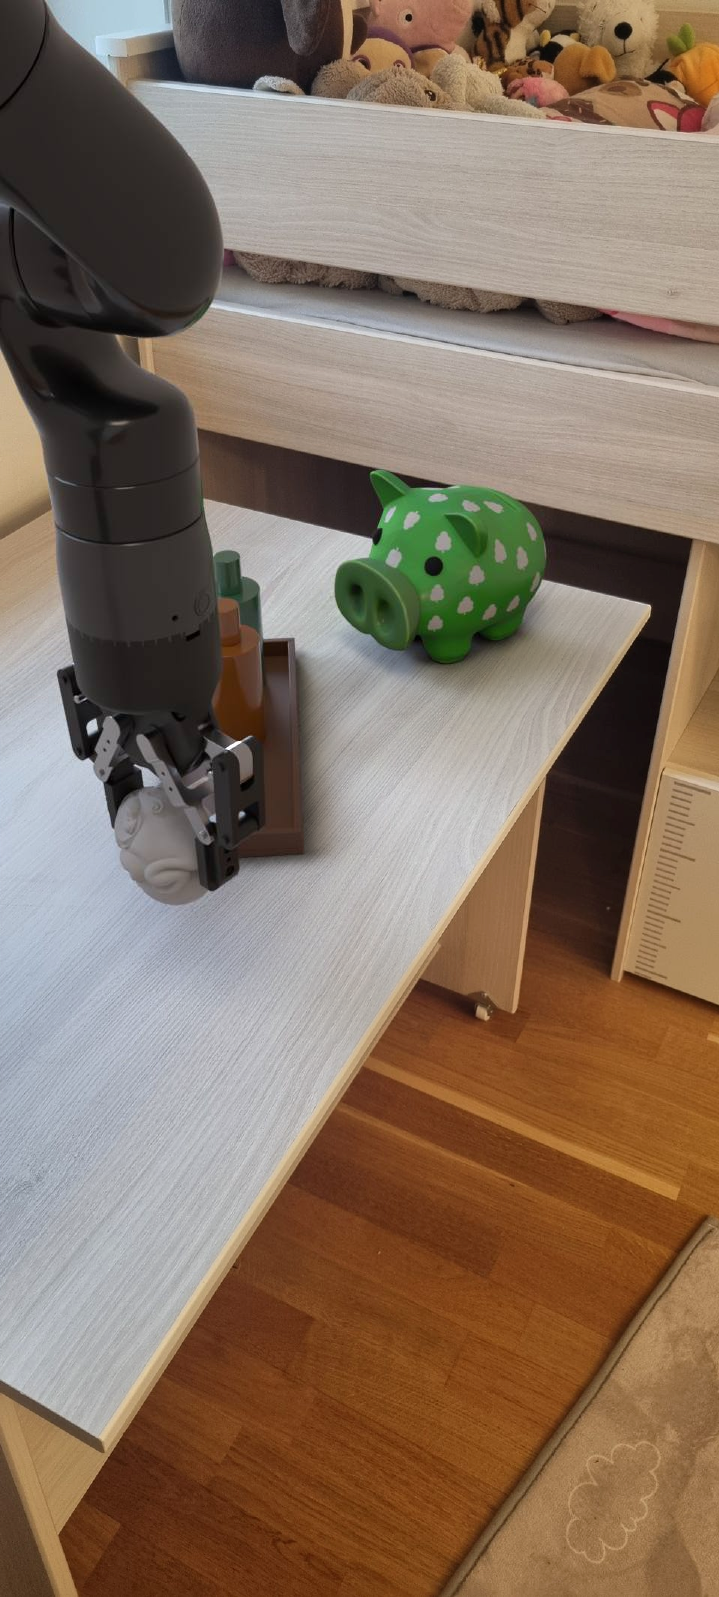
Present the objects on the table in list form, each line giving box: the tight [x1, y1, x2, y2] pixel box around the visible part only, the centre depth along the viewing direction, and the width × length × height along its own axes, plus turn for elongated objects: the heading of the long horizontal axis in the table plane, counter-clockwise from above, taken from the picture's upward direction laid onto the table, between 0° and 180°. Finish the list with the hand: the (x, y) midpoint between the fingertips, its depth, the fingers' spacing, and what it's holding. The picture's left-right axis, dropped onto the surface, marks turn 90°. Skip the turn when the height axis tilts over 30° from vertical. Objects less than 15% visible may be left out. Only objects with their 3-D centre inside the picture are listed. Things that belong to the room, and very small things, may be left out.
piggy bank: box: [333, 469, 547, 664], centre depth 106 cm, size 14×18×15 cm
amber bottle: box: [212, 598, 267, 743], centre depth 94 cm, size 5×5×12 cm
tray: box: [181, 637, 305, 858], centre depth 96 cm, size 27×10×2 cm, turn 4°
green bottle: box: [213, 549, 266, 687], centre depth 100 cm, size 5×5×12 cm
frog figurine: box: [113, 782, 212, 906], centre depth 69 cm, size 6×7×7 cm
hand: (173, 853), depth 69 cm, fingers closed on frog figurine, 7 cm apart
